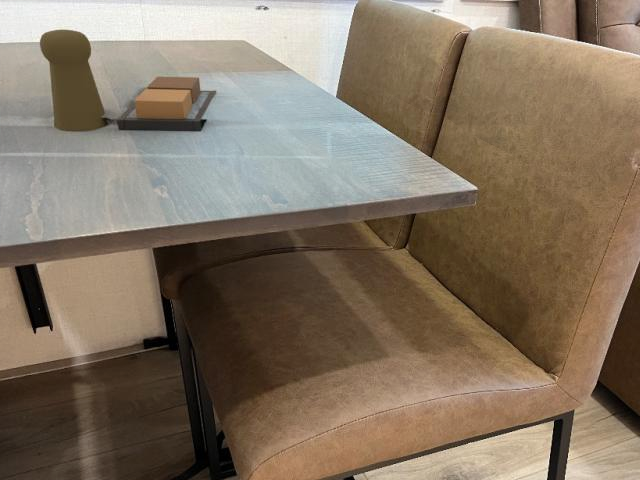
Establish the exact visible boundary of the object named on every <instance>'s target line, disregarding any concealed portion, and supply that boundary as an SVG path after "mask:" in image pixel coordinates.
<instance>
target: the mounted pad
mask: <svg viewBox="0 0 640 480" xmlns="http://www.w3.org/2000/svg"><path fill="white" fill-rule="evenodd" d="M200 82H201V81H200V77H194V76H193V77H190V76H156V77H155V78H154V79H153V80H152V81H151V82H150V84H148V86H147V87H146V89H167V90H190V91H191V99H192V105H194V104H195V103H196V102H197V100H198V98H199V96H200V95H201V93H202V92H201V91H202V90H201V83H200Z"/></svg>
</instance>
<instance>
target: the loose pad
mask: <svg viewBox="0 0 640 480" xmlns="http://www.w3.org/2000/svg"><path fill="white" fill-rule="evenodd" d="M134 102H135V108H134V110H135V115H136V118H141V119H186V117H187V115H188V114H189V112H190V111H191V109H192V108H193V104H192V99H191V91H190V90H167V89H147V88H145V89H144V90H143V91H142V92H140V94H139V95H138V96H137V97H136V98H135V99H134V101H133V103H134Z"/></svg>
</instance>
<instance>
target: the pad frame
mask: <svg viewBox="0 0 640 480" xmlns="http://www.w3.org/2000/svg"><path fill="white" fill-rule="evenodd" d="M200 91H201V93H208V95H207V96H206V98H205V100H204V102H203V103H202V105H201V107H200V108H199V110H198V112H197V114H196V115H195V117H194V118H185V119H177V118H164V119H141V118H137V117H128V116H129V115H130V114H131V113H132V112H133V111H134V110H135V102H134V101H133V102H132V103H131V105H130V106H129V107H127V109H125V111H124V112H123V113H122V114H121V115H120V116H119V117H118V118H117V119H116V123H117V128H118V131H142V132H143V131H144V132H145V131H146V132H147V131H149V132H153V131H154V132H202V130H203V128H204V126H205V124H206V122H207V121H208V119H207V118H203V116H204V115H205V112H207V109H208V107H209V105H210V104H211V102H212V100H213V98H214V96H215V95H216V93H217V90H200Z"/></svg>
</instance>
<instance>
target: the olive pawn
mask: <svg viewBox="0 0 640 480" xmlns="http://www.w3.org/2000/svg"><path fill="white" fill-rule="evenodd" d="M39 48H40V51H41V53H42V55H43V57H44V58H45V59H46V60H47V61H48V63H49V74H50V75H49V76H50V86H51V99H52V110H53V122H54V123H53V124H54V128H55V129H57V130H59V131H63V132H74V133H76V132H91V131H96V130H101V129H104V128H106V127H107V126H109V120H108V118H107V117H105V115H106V111H105V109H104V105H103V102H102V99H101V96H100V93H99V90H98V86H97V84H96V81H95V77H94V74H93V72H92V68H91V65H90V62H89V60H90V57H91V56H92V47H91V42H90V41H89V38H88V37H87V36H86V34H84V33H83V32H82V31H77V30H72V29H54V30H49V31H45V32H44V33H43V34H42V35H41V37H40V39H39Z"/></svg>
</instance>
